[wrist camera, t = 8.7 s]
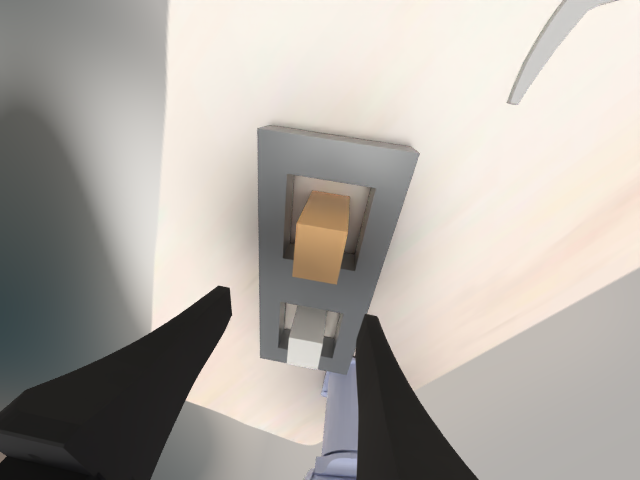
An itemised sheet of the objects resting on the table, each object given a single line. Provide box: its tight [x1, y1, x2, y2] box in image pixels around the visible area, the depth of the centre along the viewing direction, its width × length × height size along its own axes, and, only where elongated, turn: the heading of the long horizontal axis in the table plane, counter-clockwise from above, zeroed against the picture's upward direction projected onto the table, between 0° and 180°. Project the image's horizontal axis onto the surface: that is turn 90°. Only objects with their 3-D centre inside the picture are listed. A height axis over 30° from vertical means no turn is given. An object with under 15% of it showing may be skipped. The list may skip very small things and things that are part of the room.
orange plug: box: [292, 190, 350, 285], centre depth 17 cm, size 4×3×6 cm
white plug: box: [287, 305, 327, 370], centre depth 23 cm, size 4×3×5 cm
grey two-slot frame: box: [257, 125, 420, 375], centre depth 21 cm, size 24×10×2 cm, turn 173°
